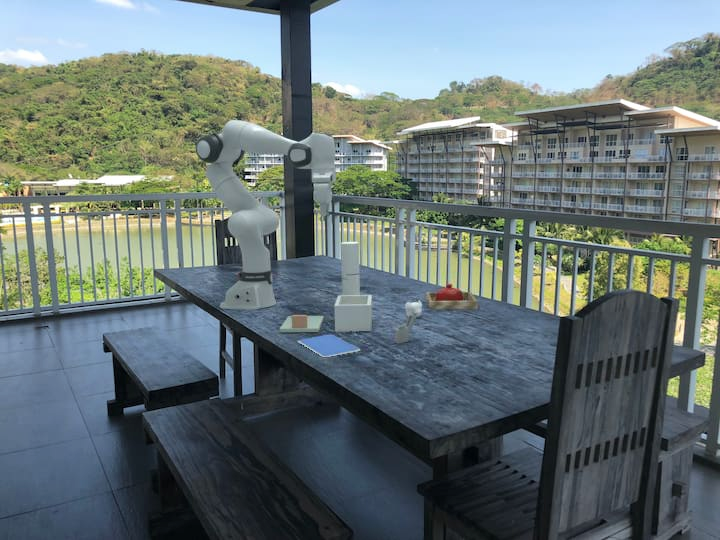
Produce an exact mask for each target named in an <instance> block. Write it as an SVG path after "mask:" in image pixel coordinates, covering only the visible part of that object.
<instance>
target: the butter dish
mask: <svg viewBox="0 0 720 540" xmlns="http://www.w3.org/2000/svg"><path fill="white" fill-rule="evenodd" d="M445 286H446V287H443V288H441V289H439V290H438V291H437V294H436V300H434V301H468V300H463V295H462V292H463V291H462V290H461V289H460V288H455V287H453V283H447V284H445Z"/></svg>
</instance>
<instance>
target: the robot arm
mask: <svg viewBox="0 0 720 540" xmlns="http://www.w3.org/2000/svg"><path fill="white" fill-rule="evenodd" d="M245 152H248V153H249V154H250V153H251V154H257V155H275V154H276V155H283V156H287V160H288V163H289V164H290V166H292V167H293V168H296V169H298V170H299V169H300V170H302V169H304V170H311V182H312V183H313V184H314V185H313V186H314V193H315V194H314V195H315V201H316V203H317V205H319V209H320V216H321V217H326V216H327V215H329V214H330V212H329V211H330V202H332V200H333V195H332V193H333V192H332V187H333V186H334V183H336V182H337V169H336V165H335V161H336V160H335V159H336V145H335V139H334V136H333V135H332V134H330V133H328V132H323V131H322V132H320V131H313V132H312V133H311V134H310V135H309V136H308V137H306V138H305V139H302V140H300V141H297V140H294V139H290V138H286V137H285V136H282V135H280V134H277V133H275V132H273V131H271V130H269V129H267V128H265V127H263V126H261V125H258V124H256V123H253V122H250V121H245V120H239V119H231V120H229V121H227V122H226V123H225V125H224V126H223V128H222V132H221V133H217V132H213V133H210V134H207V135H204V136H202V137H200V138H199V139H198V140H197V142H196V144H195V153H196V155H197V158H198V159H199V160H200V161H202V162H204V163H208V164H210V165H208V166H207V168H206V170H205V177H206V180H207V182H208V183H209V185H210V187H211V188H212V191H214V193H215V195H217V197H218V199H219V201H220V202H221V203H222V204H223V206H224V207H225V208H226V209H227V210H228V211H230V212H232V213H233V214H231V215H230V216H229V217H228V220H227V230H228V231H229V233H230V235H231V236H233V237H234V239H236V241H237V244H238V246H239V248H240V251H241V262H242V270H240V271H239V272H238V273H237V278H238V281H237V282H235V283H234V284H233V285H232V286H231V287H230V288H229V289H228V290H227V291H226V293H225V296H224V297H225V298H224V299H225V300H223V301H222V302H220V304H219V308H220V309H222V310H223V309H224V310H225V309H226V310H228V309H229V310H244V311H245V310H246V311H247V310H249V311H251V310H252V311H255V310H259V309H263V308H271V307H272V306H275V305H277V301H276V299H275V294H274V289H273V270H272V269H271V252H270V250H269V248H267V247H266V246H265V244H264V242H263V241H264V240H263V238H262V236H267V235H271V234H272V233H273V232H275V231H277V229H278V228H279V226H280V216H279V214H278V213H277V212H276V211H274V210H273V209H271V208H269V207H267V206H266V205H265V204H263V203H262V202H261V201H260V200H258V199H257V197H255V196H254V195H253V194H252V193H251V192H249V190H248V189H247V188H246V186H245V185H244V184H243V182H242V181H241V180H240V178H239V177H238V176H237V175H236V173H235V172H234V170H233V168H236V167H237V166H239V163H240V162H241V160H243V158H244V155H245Z"/></svg>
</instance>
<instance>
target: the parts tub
mask: <svg viewBox="0 0 720 540" xmlns="http://www.w3.org/2000/svg"><path fill="white" fill-rule="evenodd" d="M372 297H373V296H372V294H360V295H342V294H341V295H340V294H339V295H337V298H336V300H335V303H334V305H333V306H334V331H335V333H347V332H348V333H350V331H352V332H353V333H359V331H371V332H372V325H373V298H372ZM356 331H357V332H356ZM352 332H351V333H352Z"/></svg>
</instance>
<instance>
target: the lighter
mask: <svg viewBox="0 0 720 540" xmlns="http://www.w3.org/2000/svg"><path fill="white" fill-rule="evenodd" d="M416 319H417V317H415V316H413V315H409V317H408V318H407V321H406V324H405V325H404V324H401V325H398V327H397V328H395V329H394V341H395V342H394V343H395V344H397V343H398V345H399V344H404V343H408V342H409V329H410V330H413V327H414V325H415V321H416Z"/></svg>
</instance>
